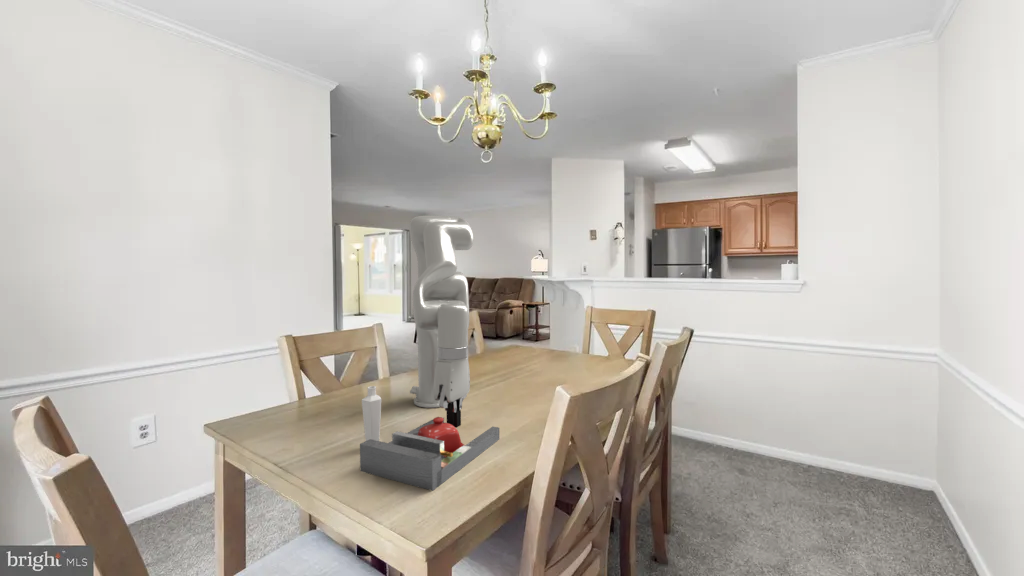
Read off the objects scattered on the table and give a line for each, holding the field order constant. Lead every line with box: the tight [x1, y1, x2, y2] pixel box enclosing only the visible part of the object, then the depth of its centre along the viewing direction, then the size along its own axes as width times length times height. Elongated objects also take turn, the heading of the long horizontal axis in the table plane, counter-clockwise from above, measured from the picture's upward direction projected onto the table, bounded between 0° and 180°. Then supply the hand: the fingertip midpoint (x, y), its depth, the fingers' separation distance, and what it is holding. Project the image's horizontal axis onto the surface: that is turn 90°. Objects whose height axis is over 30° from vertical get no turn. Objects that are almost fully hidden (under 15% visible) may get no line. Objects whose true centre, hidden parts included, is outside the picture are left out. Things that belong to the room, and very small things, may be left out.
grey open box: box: [359, 416, 500, 492], centre depth 103 cm, size 19×28×6 cm, turn 154°
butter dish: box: [418, 416, 466, 458], centre depth 104 cm, size 12×12×8 cm
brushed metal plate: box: [391, 431, 453, 460], centre depth 97 cm, size 16×2×6 cm, turn 64°
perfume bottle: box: [361, 385, 382, 441], centre depth 106 cm, size 5×4×15 cm
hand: (453, 425), depth 110 cm, fingers closed
